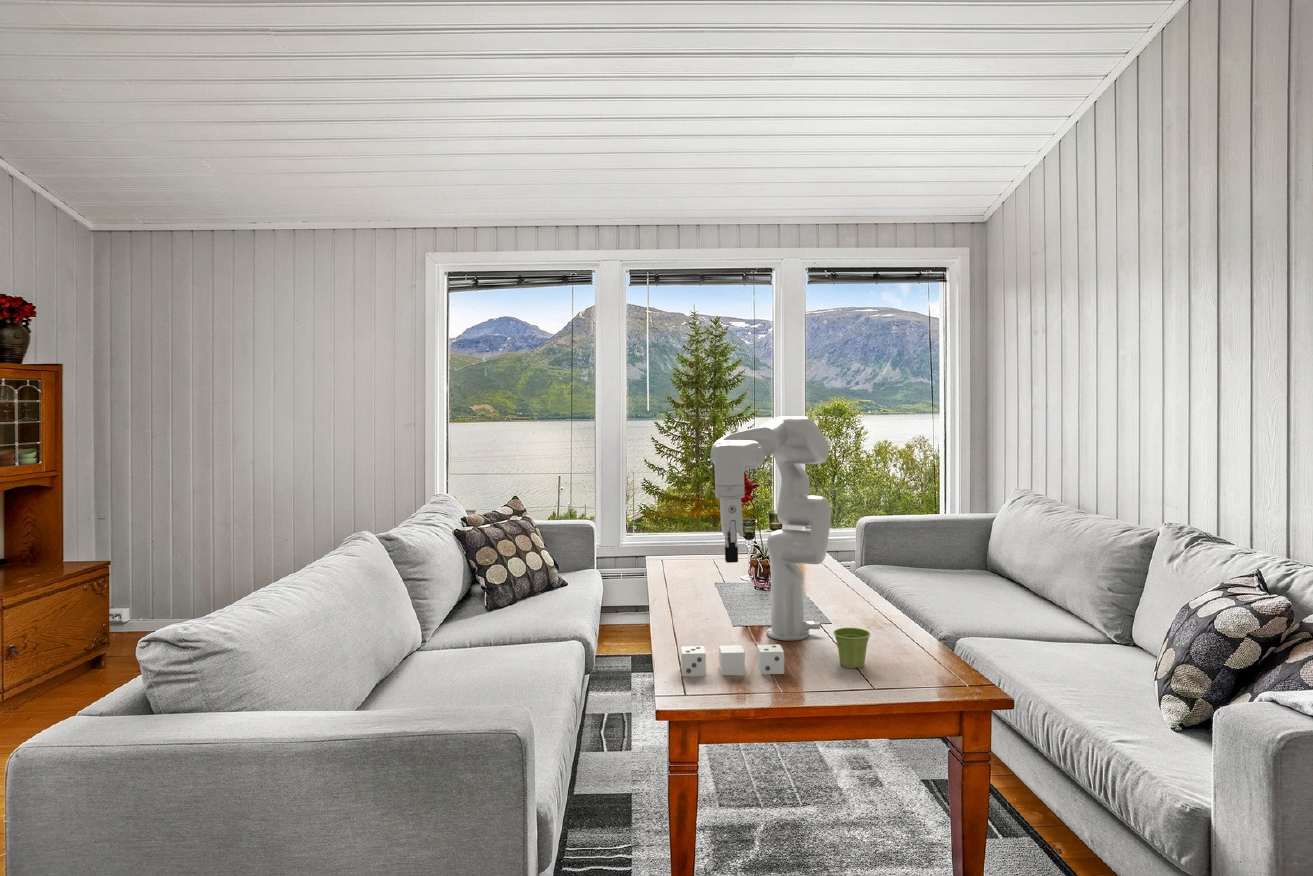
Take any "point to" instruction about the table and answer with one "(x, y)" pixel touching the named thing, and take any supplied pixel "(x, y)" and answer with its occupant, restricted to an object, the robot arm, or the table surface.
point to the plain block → (732, 660)
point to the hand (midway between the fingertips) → (731, 561)
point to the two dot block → (770, 659)
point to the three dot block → (693, 661)
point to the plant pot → (852, 646)
